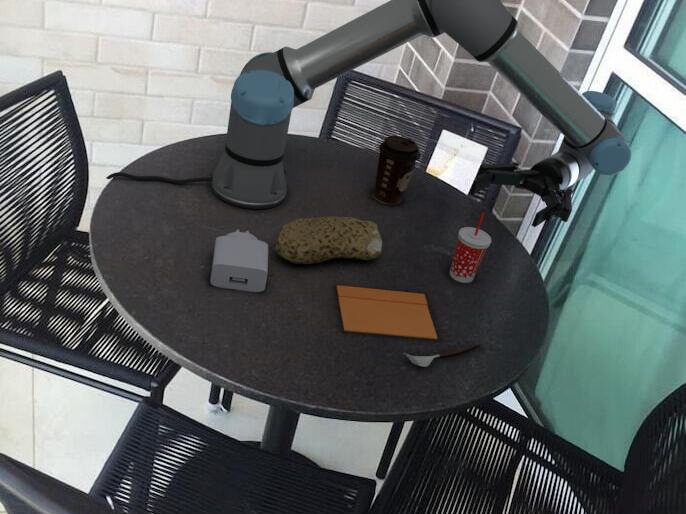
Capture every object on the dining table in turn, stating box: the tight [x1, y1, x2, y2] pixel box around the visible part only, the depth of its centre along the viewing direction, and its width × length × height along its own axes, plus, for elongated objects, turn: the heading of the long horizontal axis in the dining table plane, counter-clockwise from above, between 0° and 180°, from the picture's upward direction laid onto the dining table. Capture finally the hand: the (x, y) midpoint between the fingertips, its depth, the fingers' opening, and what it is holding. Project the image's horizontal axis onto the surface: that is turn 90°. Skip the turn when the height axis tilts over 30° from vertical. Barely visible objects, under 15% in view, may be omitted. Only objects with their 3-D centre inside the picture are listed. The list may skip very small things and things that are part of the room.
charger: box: [209, 228, 269, 293], centre depth 142 cm, size 5×9×15 cm
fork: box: [402, 343, 482, 368], centre depth 132 cm, size 3×16×2 cm, turn 120°
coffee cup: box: [371, 135, 422, 206], centre depth 170 cm, size 9×8×13 cm
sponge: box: [274, 215, 383, 265], centre depth 149 cm, size 13×8×20 cm
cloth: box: [336, 284, 438, 340], centre depth 139 cm, size 16×12×1 cm
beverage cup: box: [448, 211, 492, 284], centre depth 149 cm, size 6×6×14 cm
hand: (503, 203), depth 152 cm, fingers open, 13 cm apart
